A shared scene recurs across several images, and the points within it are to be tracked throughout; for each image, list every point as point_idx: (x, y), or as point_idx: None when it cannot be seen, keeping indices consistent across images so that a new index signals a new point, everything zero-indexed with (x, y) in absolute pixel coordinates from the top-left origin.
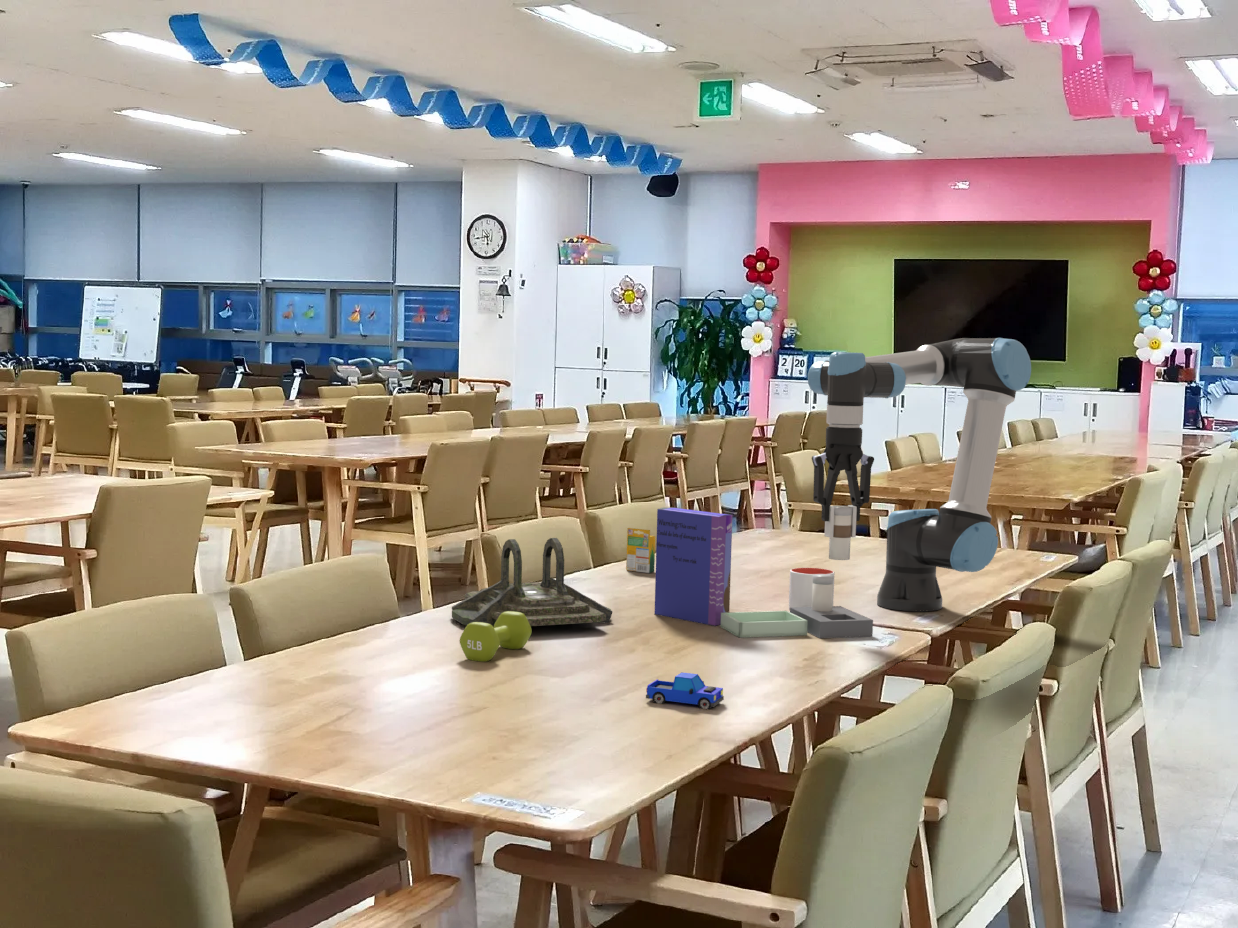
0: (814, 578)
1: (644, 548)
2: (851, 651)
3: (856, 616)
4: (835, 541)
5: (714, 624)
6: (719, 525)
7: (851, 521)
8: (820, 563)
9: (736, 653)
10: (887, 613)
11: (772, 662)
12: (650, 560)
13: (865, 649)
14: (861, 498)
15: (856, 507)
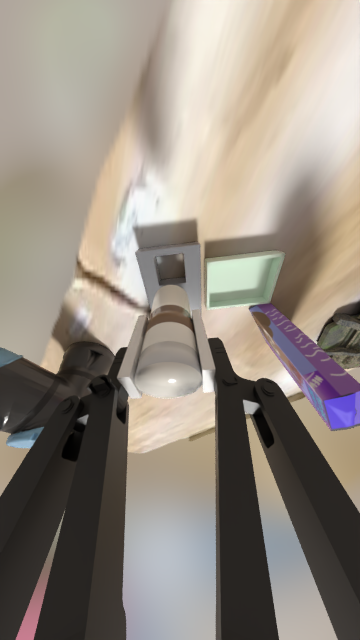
0: None
1: None
2: (187, 144)
3: (150, 273)
4: (185, 305)
5: None
6: (346, 376)
7: (142, 344)
8: (132, 425)
9: (345, 142)
10: (111, 338)
11: (353, 32)
12: None
13: (164, 160)
14: (87, 416)
15: (118, 375)
